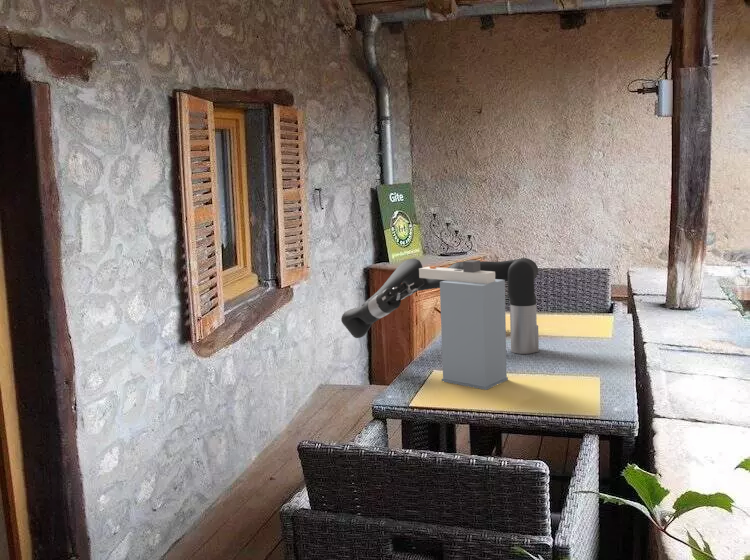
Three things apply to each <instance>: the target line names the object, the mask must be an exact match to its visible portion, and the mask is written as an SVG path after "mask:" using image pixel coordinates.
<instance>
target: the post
mask: <svg viewBox="0 0 750 560" xmlns="http://www.w3.org/2000/svg"><path fill="white" fill-rule="evenodd" d="M439 296H440V297H439V298H440V301H439V303H440V326H441V327H440V328H441V329H440V330H441V332H440V333H441V334H440V335H441V354H442V355H441V358H442V362H441V364H442V378H441V382H442V381H444V382H443V383H447V382H448V383H447V384H452V383H453V384H452V385H457V384H458V385H459V386H463V387H468V386H469V388H473V387H474V388H473V389H478V388H479V389H478V390H483V389H484V390H483V391H487V390H490V389H491V388H493V386H494V387H495V386H498V385H500V384H502V383H505V382H507V381H508V380H509V377H508V376H507V375H508V374H507V372H508V371H507V370H508V369H507V331H506V330H507V328H506V327H507V326H506V325H507V324H506V320H507V319H506V281H505V280H501V279H495V282H492V283H488V284H485V283H474V282H462V281H451V280H446V281H442V282H440V288H439ZM497 384H498V385H497ZM458 385H457V386H458Z"/></svg>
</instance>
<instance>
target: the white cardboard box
mask: <svg viewBox="0 0 750 560" xmlns="http://www.w3.org/2000/svg"><path fill="white" fill-rule="evenodd" d="M480 261H481V260H479V259H478V260H477V259H469V260H468V259H467V260H464V261H462V262H463V269H452V268H448V267H439V266H435V265H431V266H425V267H423V268H419V278H428V279H439V280H451V281H462V282H474V283H485V284H488V283H492V282H495V272H492V271H480Z"/></svg>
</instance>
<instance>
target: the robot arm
mask: <svg viewBox="0 0 750 560" xmlns="http://www.w3.org/2000/svg"><path fill="white" fill-rule="evenodd" d="M479 261H480V271H492V272H495V279H501V280H505V282H507V291H508V292H507V293H508V298H509V315H510V316H509V321H510V322H509V323H510V329H509V330H510V351H511V353H514V354H519V355H520V354H521V355H524V354H526V355H530V354H535V353H539V352H540V351H539V346H540V344H539V343H540V341H539V340H540V339H539V325H538V324H537V323H538V322H537V319H538V318H537V316H538V315H537V296H536V293H535V279H536V278H537V276H538V273H539V267H538V265H537V263H536V262H535V261H534V260H532V259H530V258H527V257H521V258H517V259H511V260H502V261H487V260H486V261H485V260H484V261H483V260H479ZM463 262H464V261H457V262H455V263H452V264H451V265H449V266H448V267H447V268H452V269H463ZM419 268H424V267H423V264H422V262H421V261H420V259H417V258H409V259H406V260H404V261H402V262H401V263H400V264H399V265H398V266H397V267H396V268H395V270H394V271H393V272H392V274H391V275H389V277H388V278H387V280H386V281H385V282H384V283H383V285H382V286H380V288H379V289H378V290H377V291H376V292H375V293H374V294H373V295H371V296H370V297H369V298H368V299H366V301H364V302H363V304H362V305H361V306H359V307H353V308H350V309H348V310H346V311H344V313H343V314H342V315H341V322H342V325H343V326H344V327H345V329H347V331H348V332H349V333H350V334H351V336H352V337H353V338H355V339H360V338H363V337H364V336H366V334H367V333H368V331H369V330H370V328H371V326H372V325H373V324H374V323H376V322H377V321H379V320H380V319H382V318H384V317H386V316H388V315H389V314H391V313H392V312H394V311H395V310H397V309H398V308H399V307H400V306H401V305H402V304H401V301H402V300H405V299H406V298H407V297H410V296H411V295H413V294H415V293H417V292H419V291H427V290H433V289H434V290H435V289H440V282H442V281H446V280H439V279H428V278H419Z"/></svg>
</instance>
